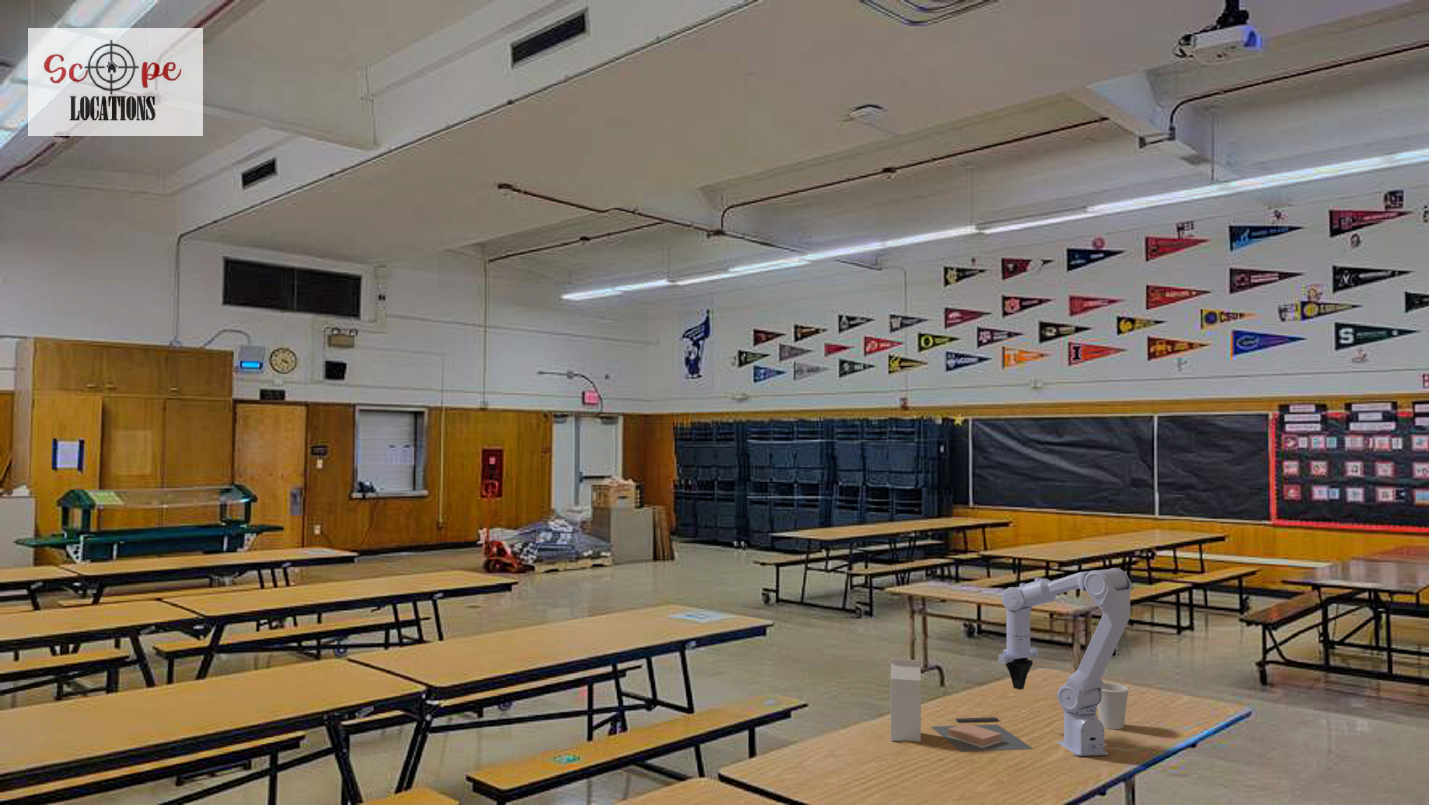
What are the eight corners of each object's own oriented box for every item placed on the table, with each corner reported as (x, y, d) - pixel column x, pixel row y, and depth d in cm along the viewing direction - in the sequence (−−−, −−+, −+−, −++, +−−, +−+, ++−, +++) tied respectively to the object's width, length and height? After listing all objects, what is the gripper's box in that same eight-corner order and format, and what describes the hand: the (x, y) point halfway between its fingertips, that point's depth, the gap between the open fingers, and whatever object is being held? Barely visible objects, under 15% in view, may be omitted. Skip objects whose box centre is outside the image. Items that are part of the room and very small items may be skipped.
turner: (991, 718, 238) (991, 714, 238) (1003, 726, 231) (1003, 722, 231) (922, 720, 236) (922, 716, 236) (932, 728, 229) (932, 724, 229)
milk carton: (920, 743, 217) (920, 663, 218) (890, 741, 218) (890, 662, 219) (920, 734, 224) (920, 657, 225) (890, 732, 225) (891, 655, 226)
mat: (1033, 751, 212) (1033, 749, 212) (961, 753, 210) (961, 751, 210) (997, 726, 231) (997, 724, 231) (930, 728, 229) (930, 726, 229)
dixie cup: (1122, 722, 236) (1122, 683, 237) (1134, 731, 228) (1134, 691, 229) (1089, 720, 237) (1089, 682, 238) (1100, 730, 229) (1099, 690, 229)
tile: (966, 723, 225) (947, 728, 220) (1001, 733, 217) (982, 739, 213) (966, 731, 225) (947, 737, 220) (1001, 742, 217) (982, 748, 212)
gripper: (1020, 628, 237) (1021, 681, 236) (987, 635, 228) (988, 689, 227) (1045, 633, 231) (1045, 687, 231) (1012, 640, 223) (1012, 695, 222)
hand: (1018, 688), depth 229 cm, fingers closed
